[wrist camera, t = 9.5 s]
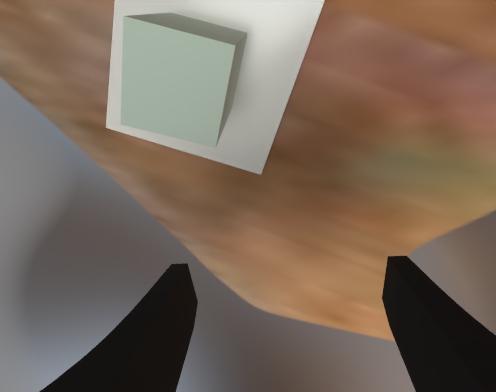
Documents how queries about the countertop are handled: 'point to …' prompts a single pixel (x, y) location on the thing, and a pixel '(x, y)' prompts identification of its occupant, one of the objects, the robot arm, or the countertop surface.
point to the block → (179, 75)
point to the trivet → (250, 76)
